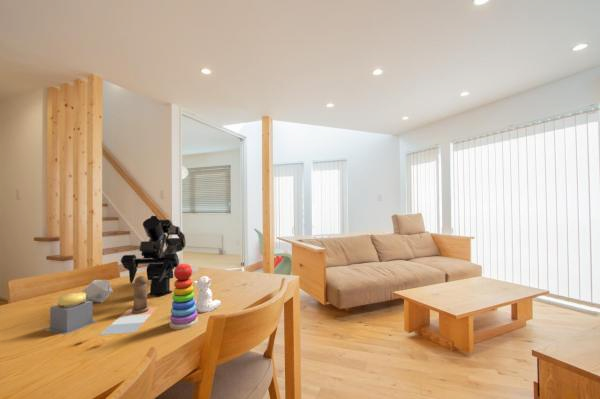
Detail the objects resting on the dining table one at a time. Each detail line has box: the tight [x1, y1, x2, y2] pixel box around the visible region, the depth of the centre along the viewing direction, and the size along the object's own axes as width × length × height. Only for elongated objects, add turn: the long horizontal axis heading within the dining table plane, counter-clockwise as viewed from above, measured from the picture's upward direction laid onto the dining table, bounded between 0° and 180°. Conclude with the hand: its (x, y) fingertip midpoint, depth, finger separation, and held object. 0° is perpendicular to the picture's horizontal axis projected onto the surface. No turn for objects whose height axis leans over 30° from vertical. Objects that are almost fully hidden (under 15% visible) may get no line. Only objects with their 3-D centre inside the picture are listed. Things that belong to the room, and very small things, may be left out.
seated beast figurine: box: [193, 275, 222, 313], centre depth 95 cm, size 10×9×12 cm
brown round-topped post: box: [132, 275, 149, 314], centre depth 92 cm, size 5×5×12 cm
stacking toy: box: [168, 263, 199, 330], centre depth 83 cm, size 8×8×19 cm
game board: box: [98, 306, 158, 336], centre depth 85 cm, size 20×9×1 cm, turn 10°
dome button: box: [57, 292, 87, 308], centre depth 81 cm, size 6×6×7 cm
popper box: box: [44, 300, 99, 335], centre depth 81 cm, size 9×9×7 cm
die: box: [82, 279, 114, 304], centre depth 104 cm, size 8×9×10 cm
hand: (145, 281), depth 96 cm, fingers open, 9 cm apart
